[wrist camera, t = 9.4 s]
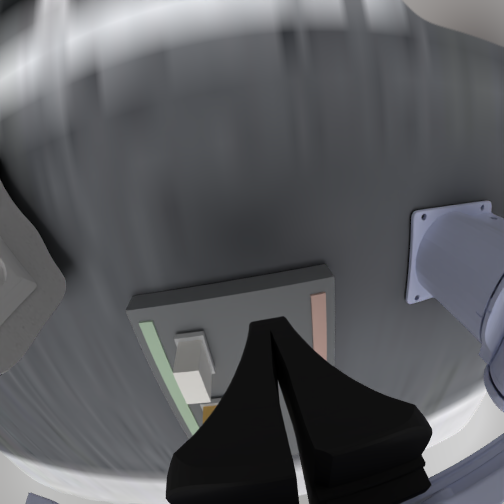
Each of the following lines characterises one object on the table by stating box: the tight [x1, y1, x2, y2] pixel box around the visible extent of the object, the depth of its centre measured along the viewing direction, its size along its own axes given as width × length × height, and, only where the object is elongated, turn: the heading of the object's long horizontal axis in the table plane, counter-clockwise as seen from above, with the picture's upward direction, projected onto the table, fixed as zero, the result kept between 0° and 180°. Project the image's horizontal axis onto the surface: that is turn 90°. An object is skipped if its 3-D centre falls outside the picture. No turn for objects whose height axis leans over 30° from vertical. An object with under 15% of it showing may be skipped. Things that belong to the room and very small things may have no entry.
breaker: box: [173, 331, 215, 404], centre depth 18 cm, size 2×4×4 cm, turn 8°
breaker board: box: [126, 264, 335, 455], centre depth 24 cm, size 14×22×2 cm, turn 8°
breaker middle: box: [200, 398, 221, 423], centre depth 21 cm, size 2×4×4 cm, turn 8°
